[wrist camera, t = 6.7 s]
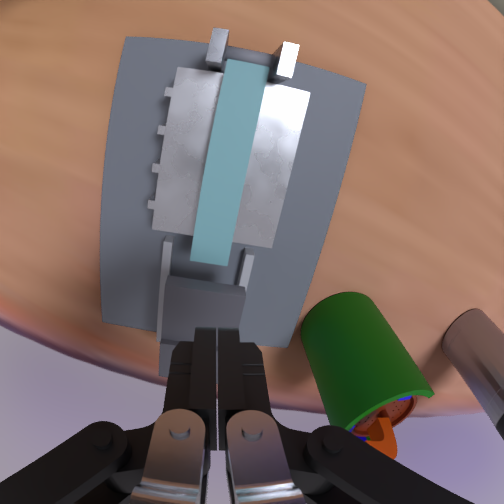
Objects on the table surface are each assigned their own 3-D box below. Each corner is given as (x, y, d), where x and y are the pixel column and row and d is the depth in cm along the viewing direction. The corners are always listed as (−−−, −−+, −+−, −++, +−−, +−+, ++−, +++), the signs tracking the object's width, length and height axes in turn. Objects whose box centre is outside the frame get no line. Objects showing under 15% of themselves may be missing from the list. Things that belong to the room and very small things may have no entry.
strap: (273, 57, 20) (276, 53, 19) (229, 260, 26) (229, 267, 25) (227, 47, 20) (228, 44, 19) (188, 254, 26) (187, 260, 25)
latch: (240, 249, 31) (246, 301, 23) (224, 325, 35) (226, 384, 27) (178, 240, 30) (163, 288, 22) (170, 317, 34) (158, 375, 26)
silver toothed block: (304, 67, 24) (330, 55, 18) (265, 230, 30) (277, 266, 24) (183, 43, 22) (171, 22, 16) (154, 212, 29) (135, 243, 22)
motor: (353, 356, 41) (407, 480, 23) (291, 354, 39) (328, 497, 21) (380, 294, 36) (466, 420, 18) (313, 287, 35) (380, 440, 17)
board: (361, 84, 26) (374, 83, 24) (285, 341, 38) (289, 356, 36) (129, 39, 22) (120, 32, 20) (105, 315, 34) (98, 330, 32)
